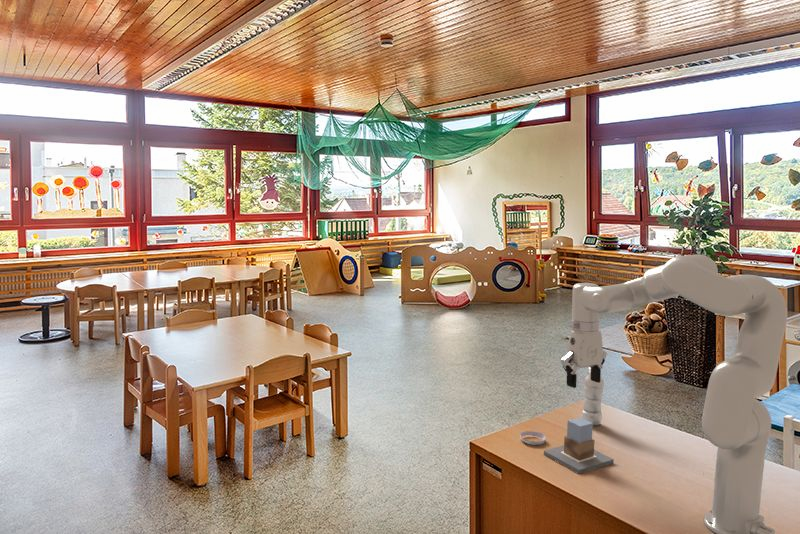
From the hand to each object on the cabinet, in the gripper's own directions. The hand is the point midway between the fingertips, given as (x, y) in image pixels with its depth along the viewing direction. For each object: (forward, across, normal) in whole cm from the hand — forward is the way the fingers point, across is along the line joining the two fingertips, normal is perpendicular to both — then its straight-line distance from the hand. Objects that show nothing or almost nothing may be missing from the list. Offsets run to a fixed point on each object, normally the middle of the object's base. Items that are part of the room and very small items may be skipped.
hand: (583, 383), depth 171 cm
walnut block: (+22, 0, +1) cm, 22 cm away
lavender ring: (+23, -3, +17) cm, 29 cm away
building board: (+23, 0, +1) cm, 23 cm away
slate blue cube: (+17, 0, +1) cm, 17 cm away
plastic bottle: (+23, +24, +18) cm, 38 cm away
